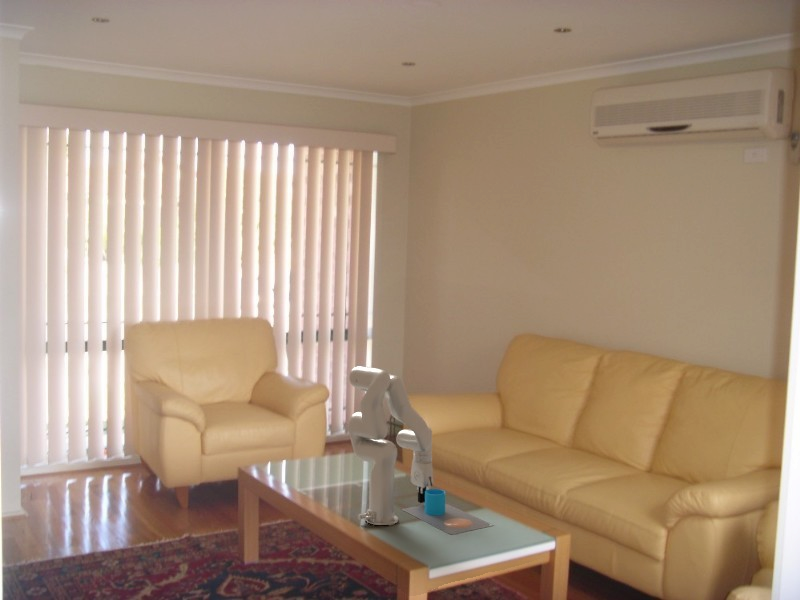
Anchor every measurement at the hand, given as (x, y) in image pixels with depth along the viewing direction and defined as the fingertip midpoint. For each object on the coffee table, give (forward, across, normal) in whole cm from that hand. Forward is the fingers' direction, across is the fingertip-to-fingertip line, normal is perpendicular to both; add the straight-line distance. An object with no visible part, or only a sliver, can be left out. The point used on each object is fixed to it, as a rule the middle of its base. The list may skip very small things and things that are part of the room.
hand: (422, 501), depth 348 cm
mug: (+2, +8, 0) cm, 8 cm away
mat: (+1, +17, 0) cm, 17 cm away
